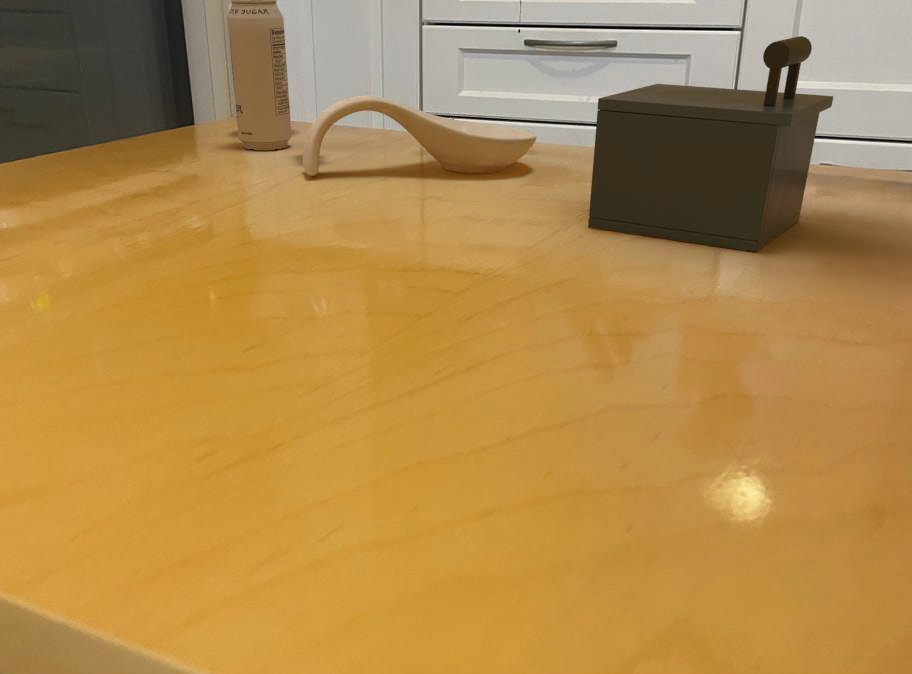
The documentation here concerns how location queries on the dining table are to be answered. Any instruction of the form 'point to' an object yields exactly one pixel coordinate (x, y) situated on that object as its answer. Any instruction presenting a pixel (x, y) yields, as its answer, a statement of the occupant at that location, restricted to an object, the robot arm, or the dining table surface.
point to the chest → (699, 178)
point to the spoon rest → (430, 136)
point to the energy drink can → (259, 74)
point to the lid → (733, 94)
